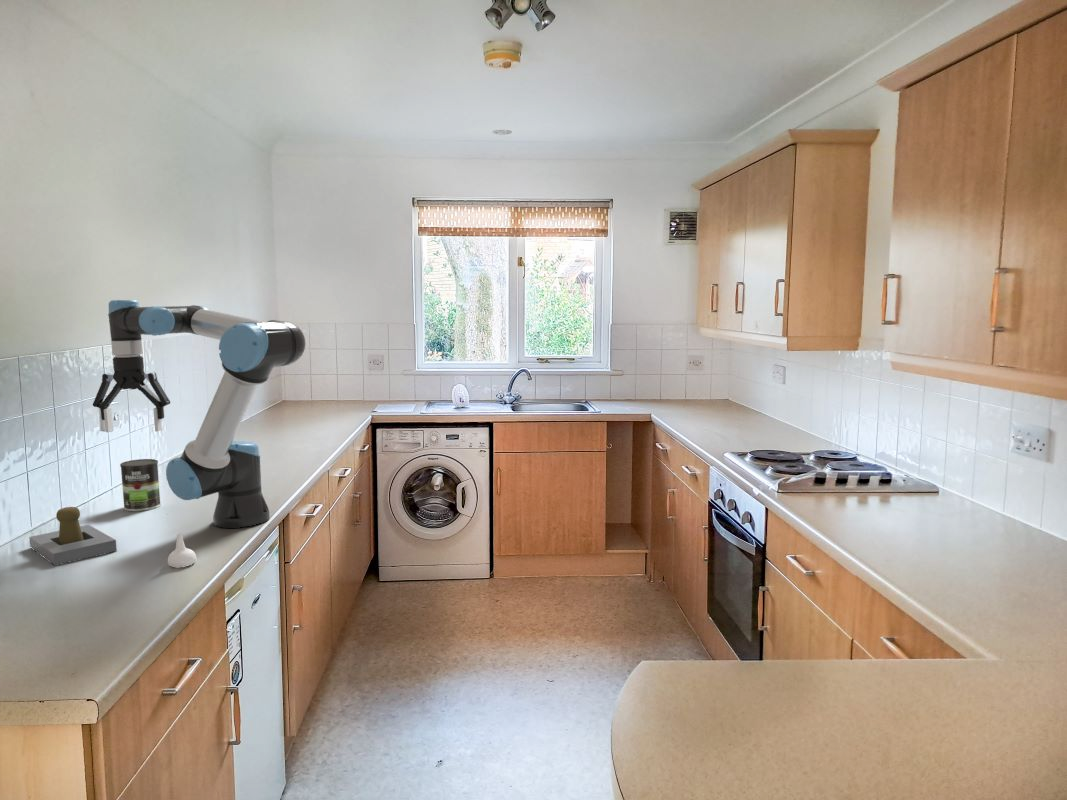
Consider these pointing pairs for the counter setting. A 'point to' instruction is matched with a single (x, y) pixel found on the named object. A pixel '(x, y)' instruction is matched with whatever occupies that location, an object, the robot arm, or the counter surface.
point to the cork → (69, 525)
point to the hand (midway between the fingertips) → (134, 431)
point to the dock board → (73, 545)
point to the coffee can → (140, 484)
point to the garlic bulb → (181, 554)
